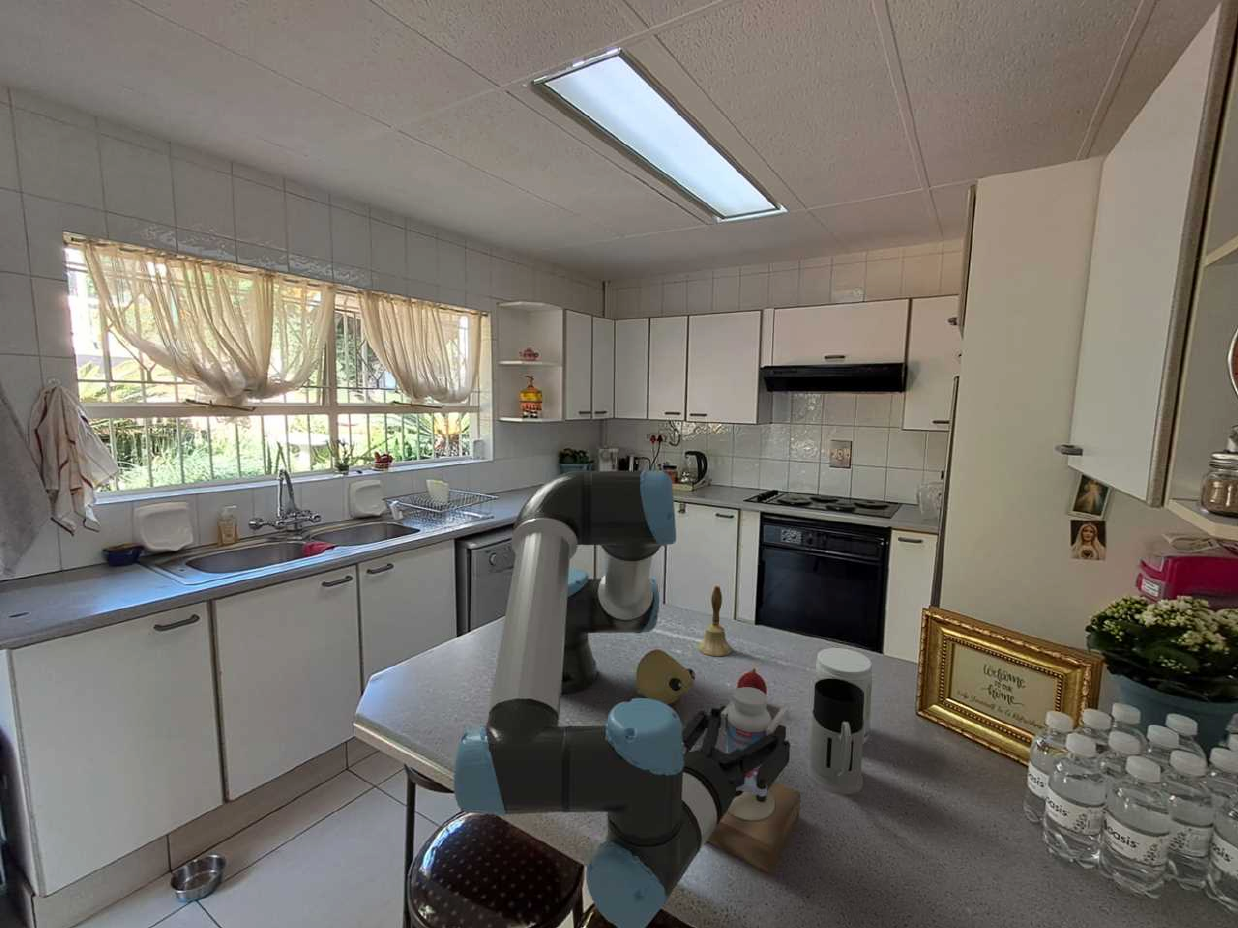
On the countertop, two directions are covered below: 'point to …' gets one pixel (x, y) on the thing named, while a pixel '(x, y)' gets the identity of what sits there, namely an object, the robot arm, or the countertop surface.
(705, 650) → the hand bell
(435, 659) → the countertop surface
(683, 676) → the toy pig
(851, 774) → the glass holder
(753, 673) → the onion
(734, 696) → the pill bottle
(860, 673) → the supplement tub
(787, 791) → the walnut plinth
